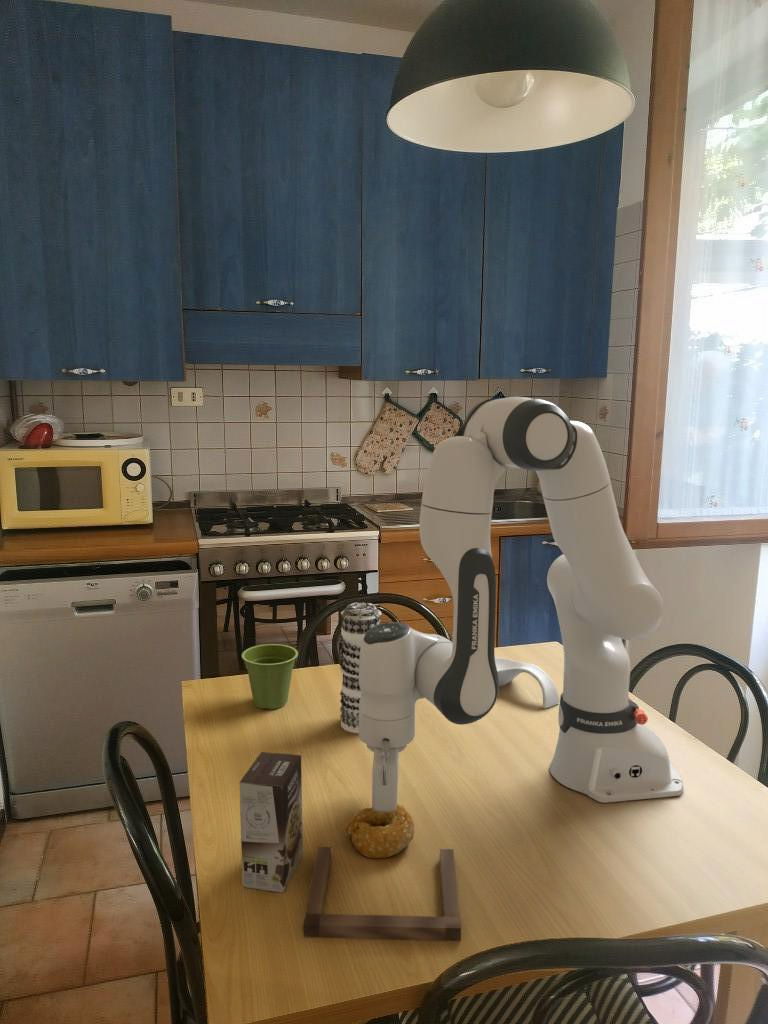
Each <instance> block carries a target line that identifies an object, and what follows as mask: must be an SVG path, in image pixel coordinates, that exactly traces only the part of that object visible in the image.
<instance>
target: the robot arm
mask: <svg viewBox="0 0 768 1024" xmlns="http://www.w3.org/2000/svg"><path fill="white" fill-rule="evenodd" d="M506 469H523V470H525V471H533V472H534V471H535V473H536V475H537V478H538V479H539V480H538V481H539V485H540V488H541V495H542V498H543V502H544V506H545V510H546V515H547V518H548V521H549V526H550V531H551V534H552V538H553V540H554V542H555V544H556V545H557V546H558V548H559V549H560V551H561V552H562V554H561V555H559V556H558V557H557V558H556V559H554V560H553V562H552V563H551V564H550V567H549V569H548V571H547V577H546V582H547V588H548V590H549V592H550V594H551V597H552V598H553V602H554V604H555V608H556V613H557V619H558V623H559V630H560V635H561V640H562V646H563V647H562V648H563V681H562V683H563V684H562V685H563V687H562V692H561V694H560V696H559V703H558V716H557V717H558V718H557V719H558V727H559V732H558V738H557V743H556V745H555V746H556V747H555V750H554V753H553V757H552V759H551V762H550V764H549V772H550V774H551V776H552V777H553V778H554V779H555V780H556V781H557V782H558V783H559V784H561V785H563V786H564V787H567V788H569V789H571V790H573V791H576V792H579V793H581V794H584V795H587V796H588V797H590V798H591V799H593V800H595V801H596V802H599V803H603V804H605V803H606V804H607V803H616V802H627V801H635V800H636V801H637V800H646V799H658V798H668V797H669V798H670V797H676V796H677V797H678V796H681V795H682V794H683V791H684V782H683V778H682V774H680V771H679V770H678V769H677V767H676V766H675V765H674V763H673V762H672V761H671V760H670V758H669V757H670V756H669V754H668V750H667V748H666V746H665V744H664V742H663V741H662V739H660V737H659V736H658V735H657V734H656V733H655V732H654V731H653V730H651V729H650V728H649V727H647V726H646V725H645V724H646V723H648V720H649V718H648V716H647V714H646V713H645V711H644V710H643V709H640V708H639V705H638V704H637V703H636V702H634V701H633V699H631V697H630V696H629V695H630V694H629V691H630V677H631V659H630V656H629V654H628V653H629V652H627V649H626V647H625V644H624V643H623V640H626V641H633V642H636V641H640V640H644V639H645V638H646V639H647V638H648V637H649V636H650V635H651V634H653V633H654V632H655V630H657V629H658V627H659V625H660V624H661V621H662V619H663V614H664V601H663V598H662V595H661V594H660V592H659V591H658V590H657V588H655V586H654V585H653V584H652V582H651V580H649V578H648V577H647V575H646V573H645V572H644V570H643V568H642V566H641V564H640V562H639V560H638V558H637V556H636V554H635V552H634V549H633V548H632V546H631V544H630V542H629V540H628V537H627V535H626V533H625V531H624V528H623V525H622V522H621V519H620V516H619V515H620V514H619V511H618V508H617V507H618V506H617V503H616V498H615V495H614V490H613V486H612V482H611V481H612V480H611V478H610V473H609V469H608V467H607V463H606V459H605V457H604V454H603V451H602V449H601V446H600V443H599V441H598V439H597V437H596V435H595V432H594V431H593V429H592V428H591V427H590V426H589V425H588V424H586V423H583V422H581V421H577V420H570V418H569V417H568V416H567V414H566V413H565V412H564V410H562V409H561V408H560V407H559V406H557V405H556V404H554V403H552V402H550V401H547V400H544V399H540V398H530V397H524V396H510V397H503V398H500V397H494V398H492V397H491V398H489V399H485V400H483V401H481V402H479V403H477V404H476V405H474V406H473V407H472V408H471V409H470V410H469V412H468V413H467V415H466V416H465V419H464V421H463V423H462V425H461V427H460V428H459V430H458V432H457V433H456V436H452V437H448V438H446V439H443V440H441V441H440V442H439V443H438V444H437V445H436V446H435V448H434V450H433V452H432V455H431V458H430V461H429V465H428V468H427V472H426V475H425V476H426V477H425V481H424V486H423V489H422V490H423V491H422V495H421V496H422V497H421V503H420V513H419V522H418V523H419V526H418V527H419V538H420V544H421V547H422V548H423V550H424V552H425V554H426V555H427V556H428V557H429V559H430V560H431V561H432V563H433V564H435V566H436V567H437V568H438V570H439V571H440V573H441V575H442V576H443V578H444V579H445V581H446V583H447V584H448V587H449V590H450V592H451V594H452V595H451V596H452V599H453V600H452V601H453V617H452V618H453V620H452V621H453V622H452V625H453V628H452V641H451V640H449V639H447V638H446V637H445V636H443V635H440V634H437V633H424V632H421V631H418V630H415V629H413V628H412V627H410V626H409V625H408V624H406V623H404V622H399V621H393V622H392V621H388V622H383V623H382V622H381V623H380V624H379V625H376V626H374V627H373V628H371V629H370V630H368V631H367V632H366V634H365V636H364V638H363V640H362V643H361V648H360V657H359V686H360V689H361V699H360V702H359V733H358V737H359V739H360V741H361V742H362V743H364V744H365V745H366V747H367V749H368V750H370V751H371V752H373V758H372V759H373V760H372V773H371V775H372V776H371V777H372V778H371V780H372V781H371V784H372V785H371V788H372V790H371V791H372V792H371V804H372V805H371V808H373V810H374V811H375V812H395V811H396V808H397V804H398V785H399V783H398V782H399V759H400V753H401V752H404V750H405V749H406V747H407V745H409V744H410V743H411V742H412V741H413V740H414V739H415V735H416V734H415V733H416V732H415V731H416V728H415V727H416V724H415V723H416V721H415V719H416V702H417V701H418V700H422V699H425V700H427V701H428V702H430V703H431V704H432V705H433V706H435V708H436V709H437V710H438V711H439V712H440V714H442V716H444V718H445V719H446V720H447V721H449V722H450V723H453V724H454V725H462V726H463V725H469V724H473V723H476V722H478V721H479V720H482V719H483V718H484V717H485V716H487V715H488V714H489V712H491V711H492V709H493V708H494V706H495V704H496V702H497V700H498V696H499V693H500V686H499V677H498V672H497V668H496V664H495V657H496V656H495V642H496V640H495V635H496V609H497V608H496V605H497V603H496V602H497V601H496V600H497V582H496V581H497V577H496V568H495V562H494V559H493V554H492V546H491V545H492V543H491V541H492V540H491V525H492V516H493V507H494V506H493V505H494V493H495V490H496V486H497V484H498V481H499V479H500V478H501V476H502V474H503V473H504V472H505V471H506Z"/></svg>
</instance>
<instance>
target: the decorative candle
mask: <svg viewBox="0 0 768 1024" xmlns="http://www.w3.org/2000/svg"><path fill="white" fill-rule="evenodd" d="M382 614H383V613H382V611H381V610H379V609H378V608H377V606H376V605H375V604H373V603H370V602H365V601H363V602H362V601H361V602H353V603H350V604H348V605H347V606H346V608H345V609H343V610H341V612H340V616H341V621H342V622H341V625H342V626H341V628H340V629H341V632H340V634H339V635H337V636H338V637H337V638H338V647H337V648H338V649H339V657H338V658H339V666H340V668H339V669H340V670H339V671H340V672H341V674H342V682H341V691H340V692H339V695H340V697H341V698H340V699H339V700H340V707H339V708H340V709H339V710H340V715H339V717H340V720H341V721H340V725H341V728H342V729H344V730H345V731H346V732H349V733H353V734H359V702H360V699H361V689H360V686H359V657H360V648H361V643H362V640H363V638H364V636H365V634H366V632H367V631H368V630H370V629H371V628H373V627H374V626H376V625H379V624H381V616H382Z"/></svg>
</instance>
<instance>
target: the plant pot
mask: <svg viewBox="0 0 768 1024" xmlns="http://www.w3.org/2000/svg"><path fill="white" fill-rule="evenodd" d="M298 655H299V652H298V650H297V649H296V648H294V647H292V646H290V645H286V644H279V643H278V644H277V643H269V644H268V643H267V644H259V645H254V646H250V647H249V648H247V649H245V650H244V651H243V652H242V653H241V658H242V660H243V661H244V662H245V663H244V664H245V668H246V670H247V673H248V674H247V675H248V679H249V681H248V682H249V685H250V690H251V691H250V692H251V697H252V701H253V705H254V706H255V707H256V708H258V709H268V710H275V709H279V708H282V707H284V706H285V705H286V704H287V703H288V701H289V700H288V699H289V694H290V688H291V687H290V686H291V682H292V674H293V673H292V672H293V668H294V666H295V661H296V659H297V657H298Z"/></svg>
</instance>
